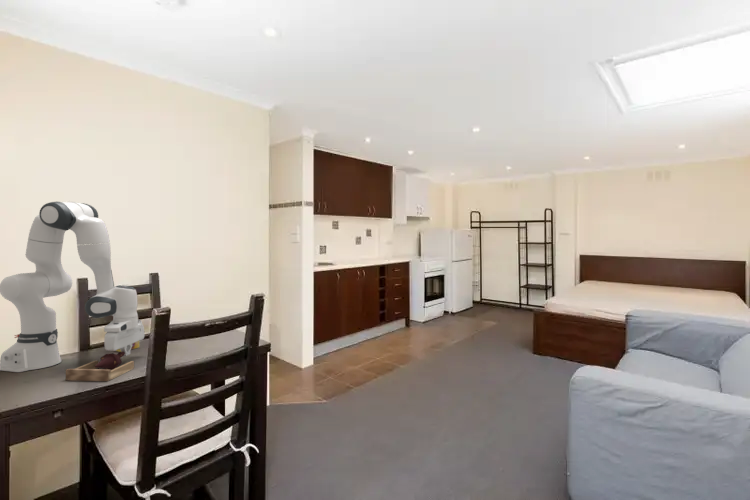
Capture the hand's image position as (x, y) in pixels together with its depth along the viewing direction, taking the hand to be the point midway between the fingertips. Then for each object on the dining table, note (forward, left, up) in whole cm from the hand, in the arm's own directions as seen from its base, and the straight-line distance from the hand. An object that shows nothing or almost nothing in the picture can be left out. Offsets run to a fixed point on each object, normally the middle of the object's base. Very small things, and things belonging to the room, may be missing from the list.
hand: (126, 355), depth 163 cm
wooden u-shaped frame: (0, -14, -3) cm, 14 cm away
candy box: (-13, +19, -3) cm, 23 cm away
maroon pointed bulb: (0, -9, -3) cm, 10 cm away
